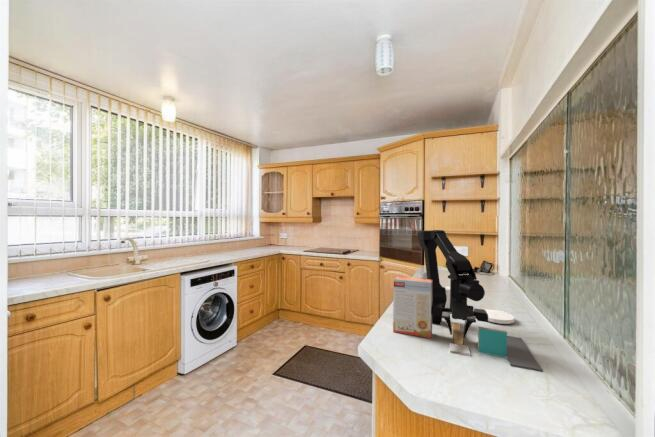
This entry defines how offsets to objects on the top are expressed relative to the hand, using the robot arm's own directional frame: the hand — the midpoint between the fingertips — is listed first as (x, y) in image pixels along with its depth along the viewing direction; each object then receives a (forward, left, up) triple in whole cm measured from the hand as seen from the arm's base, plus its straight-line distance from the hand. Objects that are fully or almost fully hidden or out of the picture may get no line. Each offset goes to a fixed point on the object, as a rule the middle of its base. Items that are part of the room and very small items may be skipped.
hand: (457, 335), depth 105 cm
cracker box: (-16, 0, -2) cm, 16 cm away
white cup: (-4, +38, -2) cm, 38 cm away
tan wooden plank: (0, 0, -2) cm, 2 cm away
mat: (+18, -2, -2) cm, 18 cm away
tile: (+10, -7, +2) cm, 12 cm away
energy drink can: (-14, +46, -2) cm, 48 cm away
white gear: (+17, +30, -2) cm, 35 cm away
